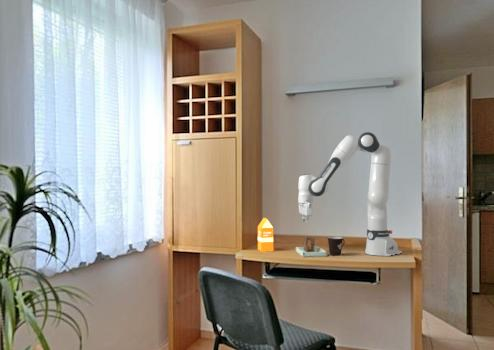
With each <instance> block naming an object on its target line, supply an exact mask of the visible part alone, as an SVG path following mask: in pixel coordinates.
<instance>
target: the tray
mask: <svg viewBox="0 0 494 350" xmlns="http://www.w3.org/2000/svg"><path fill="white" fill-rule="evenodd" d="M295 252H296V253H298V254H299V255H300V256H301V257H302V258H314V257H317V258H318V257H320V258H321V257H328V251H326V250H325V249H323V248H321V247H320V246H315V252H305V251H304V246H296V247H295Z"/></svg>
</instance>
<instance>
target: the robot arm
mask: <svg viewBox="0 0 494 350" xmlns="http://www.w3.org/2000/svg"><path fill="white" fill-rule="evenodd" d="M358 151H361V152H365V153H369V154H370V155H371V156H370V157H371V160H370V169H369V178H368V179H369V181H368V182H369V183H368V192H367V194H366V208H367V211H366V212H367V229H366V236H367V237H366V243H365V250H364V253H365V254H366V255H371V256H378V257H379V256H381V257H383V256H384V257H385V256H386V257H392V256H391V255H393V256H396V255H395V254H397V255H401V254H403V251H402V250H399V248H398V247H399V246H398V245H399V244H398V242H397V241H396V240H394V239H393V238H392V237H391V235H393V230H390V229H389V230H388V211H387V203H388V200H389V193H390V192H389V189H390V172H391V161H392V160H391V158H392V157H391V150H390V148H389V146H387V145H383V144H380V143H379V140H378V137H377V136H376V134H374V133H373V132H369V131H366V132H363V133H362V134H360V135H359V137H356V136H354V135H352V134H349V135H346V136H345V137H344V138H343V139H342V140H341V141H340V142H339V143H338V144H337V146H336V147H335V149H334V150H333V152H332V154H331V156H330V158H329V160H328V162H327V164H326V166H324V168H323V170H322V171H321V172H320V174H319V175H318V176H317V177H316V176H314V175H313V174H311V173H305V174H301V175H300V176H299V178H298V186H297V187H298V188H297V189H298V195H297V196H298V198H297V204H298V213H299V215H300V214H301V219H302V222H305V223H306V224H308V223H309V222H310V221H309V220H310V217H312V216H313V206H312V203H313V197H320V196H322V195H324V194H326V192H328V190H329V185H328V183H329V181H330V179H331V178H332V176H333V175H334V174H335V173H336V172H337V171H338V170H339V169H341V168H343V167H344V166H346V165H347V164H348V163H349V162H350V161H351V160H352V159H353V157H354V155H356V152H358ZM400 253H401V254H400Z"/></svg>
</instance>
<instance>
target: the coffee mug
mask: <svg viewBox="0 0 494 350" xmlns="http://www.w3.org/2000/svg"><path fill="white" fill-rule="evenodd" d="M345 243H346V242H345V239H344V238H343V237H342V236H329V237H327V244H328V251H329V256H333V257H341V256H342V248H343V247H344V245H345Z"/></svg>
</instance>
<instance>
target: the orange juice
mask: <svg viewBox="0 0 494 350" xmlns="http://www.w3.org/2000/svg"><path fill="white" fill-rule="evenodd" d="M259 250H260V251H259ZM257 251H259V252H260V253H267V252H266V251H273V252H274V227H273V225H272V224H271V222H270V221H269V219H268V218H266V217H263V218H262V220H261V221H260V222H259V224H258V225H257Z"/></svg>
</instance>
